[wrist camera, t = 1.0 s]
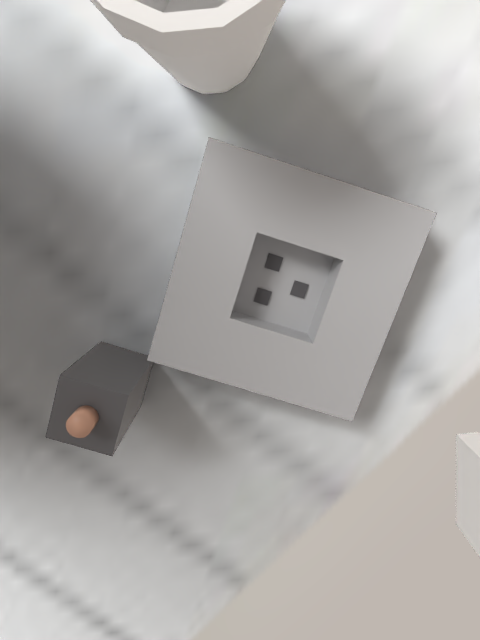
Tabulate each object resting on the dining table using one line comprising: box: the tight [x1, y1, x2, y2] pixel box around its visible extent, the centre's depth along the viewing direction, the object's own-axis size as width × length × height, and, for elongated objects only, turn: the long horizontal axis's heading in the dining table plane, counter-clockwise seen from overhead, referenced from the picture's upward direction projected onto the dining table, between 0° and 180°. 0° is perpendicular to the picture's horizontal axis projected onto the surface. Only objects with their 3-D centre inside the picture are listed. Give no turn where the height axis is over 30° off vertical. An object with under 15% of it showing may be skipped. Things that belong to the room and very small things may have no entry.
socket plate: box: [147, 137, 437, 422], centre depth 28 cm, size 14×14×4 cm
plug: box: [46, 342, 153, 456], centre depth 27 cm, size 4×4×8 cm
